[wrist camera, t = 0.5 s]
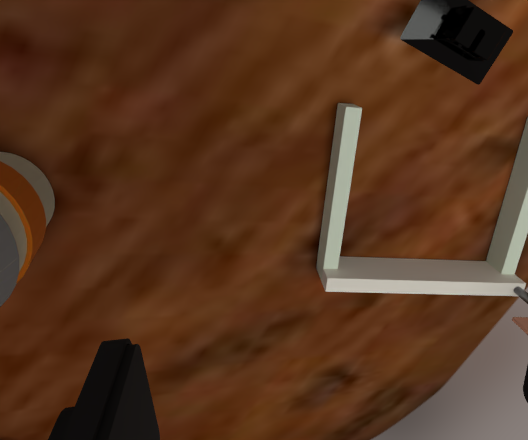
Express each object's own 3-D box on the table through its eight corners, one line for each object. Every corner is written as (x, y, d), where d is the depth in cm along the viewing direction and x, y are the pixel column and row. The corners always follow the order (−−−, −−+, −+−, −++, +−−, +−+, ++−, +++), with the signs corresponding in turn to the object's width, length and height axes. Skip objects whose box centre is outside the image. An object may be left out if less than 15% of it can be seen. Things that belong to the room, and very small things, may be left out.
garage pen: (337, 103, 42) (383, 125, 30) (541, 117, 44) (661, 143, 32) (315, 267, 48) (346, 341, 36) (494, 273, 50) (579, 344, 38)
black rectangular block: (380, 38, 40) (398, 37, 36) (423, -42, 38) (448, -53, 34) (483, 100, 43) (511, 105, 39) (530, 28, 41) (565, 26, 37)
